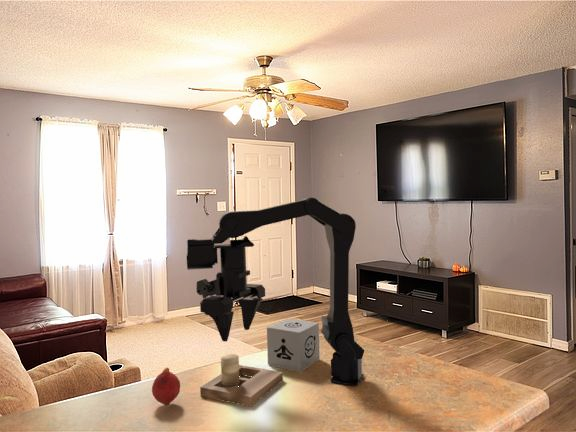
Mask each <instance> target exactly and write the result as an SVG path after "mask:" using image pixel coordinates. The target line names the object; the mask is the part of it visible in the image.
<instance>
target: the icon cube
mask: <svg viewBox="0 0 576 432" xmlns="http://www.w3.org/2000/svg"><path fill="white" fill-rule="evenodd" d="M266 345H267V348H266V349H267V365H268V364H269V365H268V366H271V365H272V367H276V368H281V369H285V370H290V371H293V372H294V371H296V372H300V373H301V372H302V371H304V370H305V369H308V368H309V367H310V366H312V365H313V364H315V363H317V362H318V361H320V355H321V354H320V323H319V322H315V321H314V322H313V321H308V320H302V319H301V320H300V319H293V318H285V319H282V320H281V321H278V322H276V323H274V324H272V325H269V326H266Z"/></svg>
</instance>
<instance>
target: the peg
mask: <svg viewBox="0 0 576 432" xmlns="http://www.w3.org/2000/svg"><path fill="white" fill-rule="evenodd" d="M239 358H240V356H239V355H238V354H235V353H228V354H227V353H226V354H224V355H222V356H221V357H220V369H221V370H220V371H221V373H220V375H221V378H222V382H221V384H222V386H223V388H227V389H232V390H234V389H236V388H237V387H238V384H239V383H240V381H239V365H240V361H239V360H240V359H239Z"/></svg>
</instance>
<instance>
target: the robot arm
mask: <svg viewBox="0 0 576 432" xmlns="http://www.w3.org/2000/svg"><path fill="white" fill-rule="evenodd" d="M306 216H309V217H311V218H312V219H313V220H315V221H316V222H318V223H319V224H320V225H322V226H323V227H324V231H325V232H324V233H325V237H326V238H325V239H326V241H327V244H328V247H329V251H330V253H329V254H330V255H329V256H330V257H329V265H330V266H329V310H328V313H327V315H326V316H324V315H322V316H321V323H322V324H321V330H320V333H321V334H322V335H323V338H324V339H325V342H327V343H328V344H329V346H330V347H331V348H332V349H333V350H334V352H333V353H332V358H331V359H330V376H331V378H330V379H329V380H330V382H331V383H337V384H343V385H349V386H354V387H355V386H358V385H359V383H360V382H361V381H362V380H363V378H364V377H365V374H364V373H363V372H362V371H363V367H362V360H363V356H364V355H365V349H364V348H363V347H361V345H360V344H359V343H357V342H356V341H355V334H354V327H353V323H352V319H351V317H350V313H349V282H350V281H349V279H350V278H349V277H350V275H349V274H350V269H349V267H350V266H349V265H350V251H351V247H352V246H353V243H354V239H355V234H356V233H355V232H356V228H357V224H356V220H355V219H354V218H353V217H352V216H351V215H349V214H347V213H339V212H338V211H336V210H335V209H333V208H332V207H331V208H330V207H329V206H328V205H326V204H324V203H322V202H321V201H319V200H318V199H317V198H315V197H304V198H303V199H300V200H295V201H292V202H287V203H283V204H280V205H274V206H270V207H266V208H262V209H257V210H256V209H255V210H235V211H227V212H225V213H223V214H222V215H221V217H220V219H219V221H218V229H217V230H216V231H215V233H213V234H212V238H204V239H203V238H200V239H197V238H187V240H186V241H187V244H186V245H187V249H186V250H187V251H186V252H187V253H186V268H187V270H188V271H192V270H205V269H208V270H209V269H214V266H215V265H216V264H218V261H219V260H218V249H219V253H220V254H219V258H220V271H219V272H217V273H216V274H215V279H213V280H211V281H208V279H207V278H204V279H201V280H198V281H196V293H197V295H199V296H201V297H202V300H201V301H200V303H199V306H200V308H199V311H200V313H202V314H203V313H204V315H205V316H209V317H210V318H211V319H212V320H213V322H214V324H215V326H216V329H217V330H218V334H219V335H220V339H221V341H222V342H228V341H229V336H230V333H231V327H232V322H233V318H234V312H235V311H234V310H233V307H234V303H236V302H237V303H238V305H239V306H240V308H241V316H242V317H241V318H242V324H243V329H244V330H245V331H248V330H250V328H251V325H252V323H253V321H254V318H255V316H256V314H257V311H258V309H259V307H260V305H261V303H262V302H263V300H264V299H263V298H264V297H266V288H265V287H264V285H263V284H257V283H248V279H247V278H248V276H251V270H249V269H247V257H246V252H247V251H246V248H249V247H251V248H252V247H254V246H255V244H254V242H253V241H251V240H250V239H249V237H248V236H247V235H246V234H248V233H251V232H253V231H254V230H257V229H259V228H261V227H263V226H268V225H272V224H276V223H281V222H284V221H290V220H292V219H293V220H294V219H297V218H301V217H306ZM241 236H243V237H242V239H236V238H239V237H241ZM229 239H230V240H229ZM227 240H229V243H226V244H224V242H227ZM232 310H233V311H232Z"/></svg>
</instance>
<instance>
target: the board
mask: <svg viewBox="0 0 576 432" xmlns="http://www.w3.org/2000/svg"><path fill="white" fill-rule="evenodd" d="M240 375H247V376H246V377H245V378H244V377H242V376H240ZM239 376H240V377H239V381H240V383H239V384H238V386H239V387H237V388H236V389H234V390H232V389H227V388H223V386H222V384H221V382H222V378H221V374H219V375H218V376H216V377H214V378H213V379H211V380H209V381H208V382H206V383H205V384H202V386H200V397H204V398H209V399H214V400H217V399H218V401H222V400H223V402H227V401H229V402H228V403H232V402H234V403H233V404H237V403H239V404H238V405H241V404H244V405H243V406H246V405H248V406H247V407H252V406H253V405H255V404H256V403H257V402H258V401H260V400H261V399H262V398H264V397H265V396H266V395H267V394H268V393H269V392H271V391H272V390H273V389H274V388H275V387H277V386H278V385H279V384H280V383H282V382H283V381H284V372H283V371H277V370H271V369H266V368H259V367H253V366H247V365H243V364H239ZM248 376H252V377H249V378H247V377H248ZM271 389H272V390H271ZM267 392H268V393H267ZM266 393H267V394H266ZM265 394H266V395H265ZM261 397H262V398H261ZM260 398H261V399H260Z"/></svg>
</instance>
